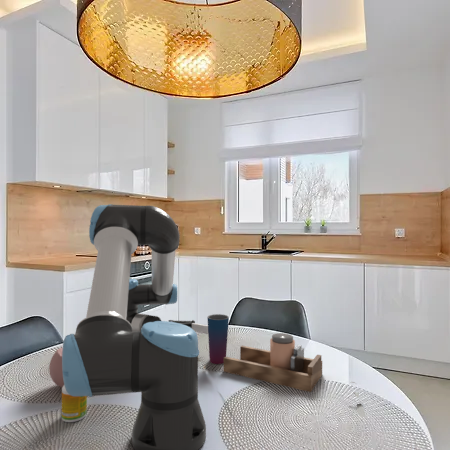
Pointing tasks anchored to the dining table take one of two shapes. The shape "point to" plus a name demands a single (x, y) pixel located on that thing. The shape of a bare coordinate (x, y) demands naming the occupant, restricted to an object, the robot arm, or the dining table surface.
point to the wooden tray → (273, 369)
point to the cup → (217, 337)
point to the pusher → (298, 359)
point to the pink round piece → (57, 368)
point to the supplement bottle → (73, 407)
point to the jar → (281, 350)
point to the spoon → (359, 406)
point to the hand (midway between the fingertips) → (197, 335)
